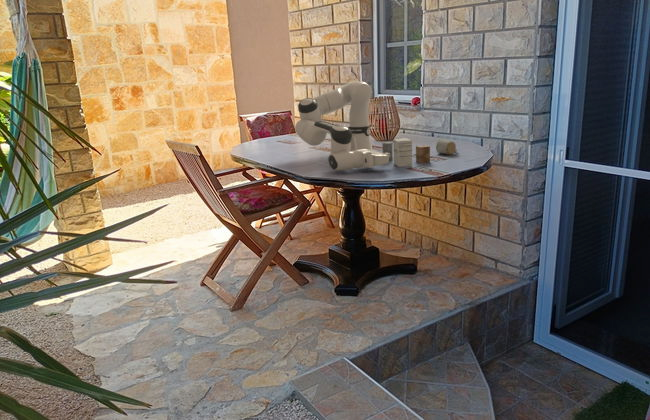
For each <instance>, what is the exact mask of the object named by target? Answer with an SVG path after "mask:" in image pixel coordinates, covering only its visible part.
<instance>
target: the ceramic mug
mask: <svg viewBox="0 0 650 420" xmlns="http://www.w3.org/2000/svg"><path fill="white" fill-rule="evenodd" d="M456 147H457V145H456V143H455V142H454V141H452V140H448V139H443V138H441V139H439V140H437V142H436V144H435V150H436V152H437V153H438V154H441V155H449V156H451V155H453V154H454V153H458V149H457V148H456Z"/></svg>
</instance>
